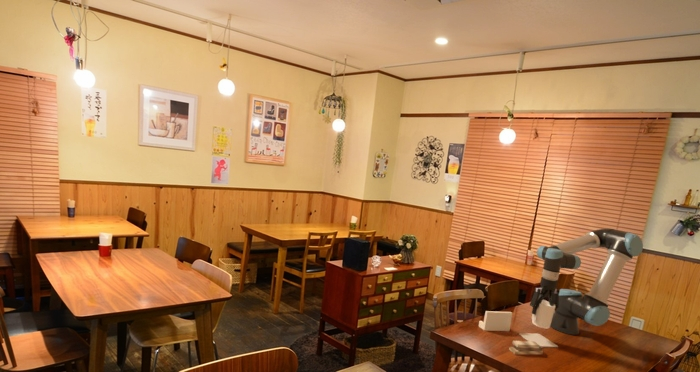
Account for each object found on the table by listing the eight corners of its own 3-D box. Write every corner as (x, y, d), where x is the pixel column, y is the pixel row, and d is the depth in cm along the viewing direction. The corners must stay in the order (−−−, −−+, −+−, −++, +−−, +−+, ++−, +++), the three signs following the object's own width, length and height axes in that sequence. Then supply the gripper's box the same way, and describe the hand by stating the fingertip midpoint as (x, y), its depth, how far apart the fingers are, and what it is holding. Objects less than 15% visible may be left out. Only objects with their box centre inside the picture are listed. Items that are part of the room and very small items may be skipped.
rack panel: (503, 326, 203) (506, 309, 203) (509, 330, 199) (512, 313, 198) (478, 326, 199) (481, 308, 198) (484, 330, 194) (487, 312, 194)
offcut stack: (535, 349, 181) (537, 340, 180) (542, 354, 176) (544, 345, 176) (508, 349, 176) (510, 340, 176) (515, 354, 172) (516, 345, 171)
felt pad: (538, 334, 200) (538, 333, 200) (557, 347, 187) (558, 346, 187) (518, 334, 196) (518, 333, 196) (537, 347, 183) (537, 346, 183)
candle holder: (554, 331, 185) (558, 308, 184) (533, 326, 187) (537, 304, 186) (547, 323, 195) (552, 301, 194) (528, 319, 197) (532, 297, 196)
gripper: (538, 279, 183) (529, 323, 184) (572, 282, 189) (563, 324, 190) (527, 274, 190) (519, 316, 191) (560, 277, 196) (552, 317, 197)
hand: (541, 320), depth 191 cm, fingers closed on candle holder, 9 cm apart
